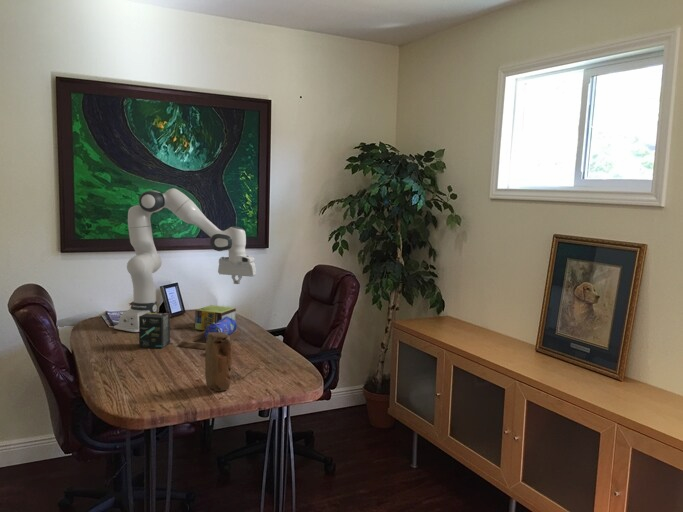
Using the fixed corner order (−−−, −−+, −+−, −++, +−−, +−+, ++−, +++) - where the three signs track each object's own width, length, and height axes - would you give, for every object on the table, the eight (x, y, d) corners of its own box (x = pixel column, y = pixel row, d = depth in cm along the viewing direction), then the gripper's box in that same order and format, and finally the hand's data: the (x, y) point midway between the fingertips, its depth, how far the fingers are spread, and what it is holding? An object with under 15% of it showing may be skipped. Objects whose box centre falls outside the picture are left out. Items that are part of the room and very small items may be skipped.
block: (203, 384, 207) (204, 331, 205) (222, 381, 211) (223, 329, 209) (213, 393, 198) (214, 338, 196) (233, 390, 202) (234, 336, 200)
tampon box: (170, 343, 261) (170, 313, 259) (162, 349, 252) (162, 317, 250) (147, 342, 262) (147, 311, 260) (138, 347, 253) (138, 315, 251)
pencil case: (219, 344, 263) (220, 324, 262) (202, 342, 265) (203, 323, 264) (237, 333, 285) (237, 315, 284) (221, 332, 286) (222, 314, 285)
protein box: (210, 304, 303) (195, 309, 288) (236, 307, 299) (221, 312, 284) (210, 323, 304) (194, 329, 289) (235, 326, 300) (220, 332, 285)
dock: (180, 346, 257) (180, 341, 256) (211, 332, 285) (211, 327, 284) (213, 350, 253) (213, 345, 252) (240, 335, 281) (240, 330, 280)
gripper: (216, 257, 290) (215, 283, 291) (252, 259, 285) (252, 286, 286) (221, 256, 296) (221, 281, 297) (257, 258, 291) (256, 284, 292)
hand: (236, 283), depth 292 cm, fingers closed
